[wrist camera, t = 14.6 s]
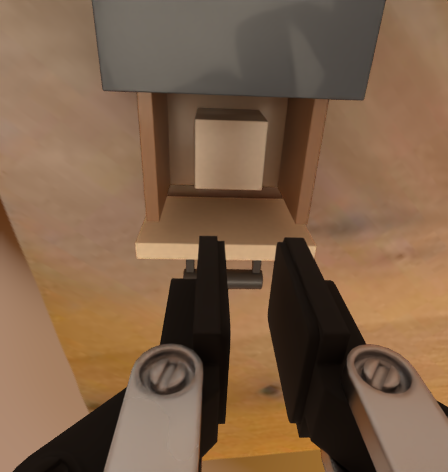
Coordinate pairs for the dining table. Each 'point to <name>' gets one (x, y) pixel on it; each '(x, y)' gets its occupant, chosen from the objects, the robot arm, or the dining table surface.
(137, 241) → the drawer
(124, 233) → the dining table surface
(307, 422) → the robot arm
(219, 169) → the block
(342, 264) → the dining table surface
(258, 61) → the cabinet
